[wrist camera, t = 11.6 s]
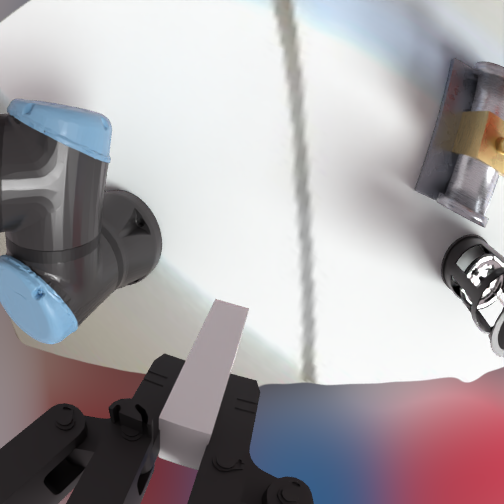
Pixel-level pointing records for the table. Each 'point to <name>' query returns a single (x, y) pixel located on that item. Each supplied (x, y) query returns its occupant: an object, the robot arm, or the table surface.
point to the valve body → (467, 141)
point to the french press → (478, 284)
